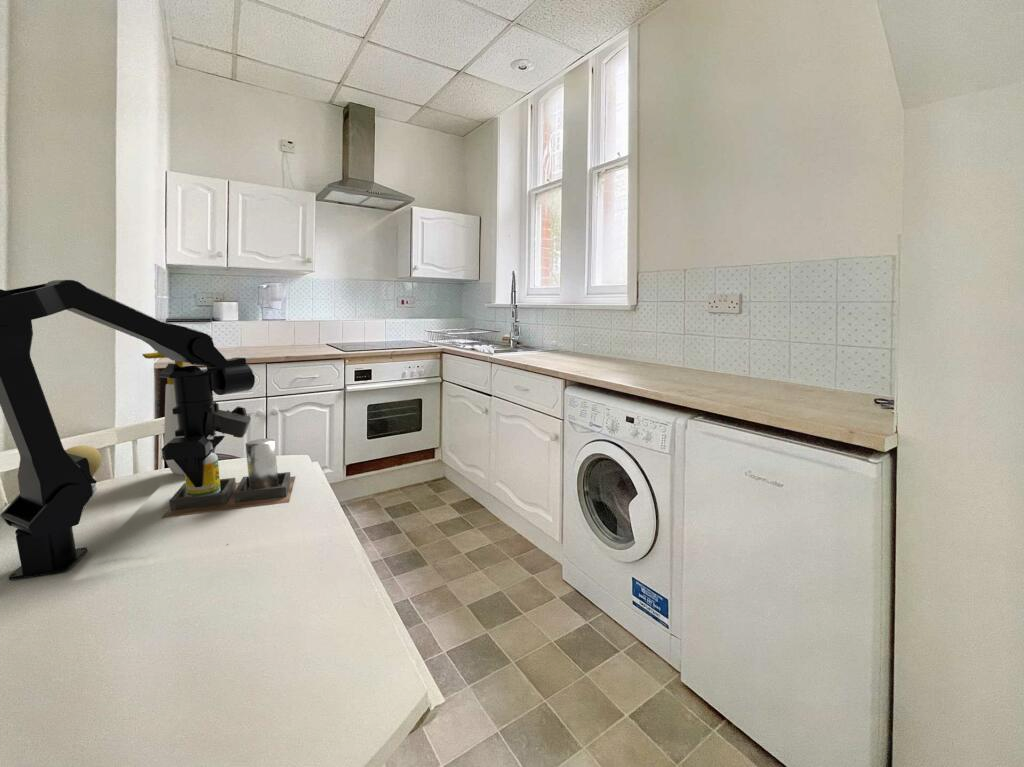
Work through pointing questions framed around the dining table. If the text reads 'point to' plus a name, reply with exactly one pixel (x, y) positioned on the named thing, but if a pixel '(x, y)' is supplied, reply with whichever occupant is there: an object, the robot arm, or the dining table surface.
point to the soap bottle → (169, 413)
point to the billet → (262, 463)
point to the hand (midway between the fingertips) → (203, 481)
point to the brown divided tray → (231, 497)
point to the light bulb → (88, 458)
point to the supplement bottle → (206, 478)
